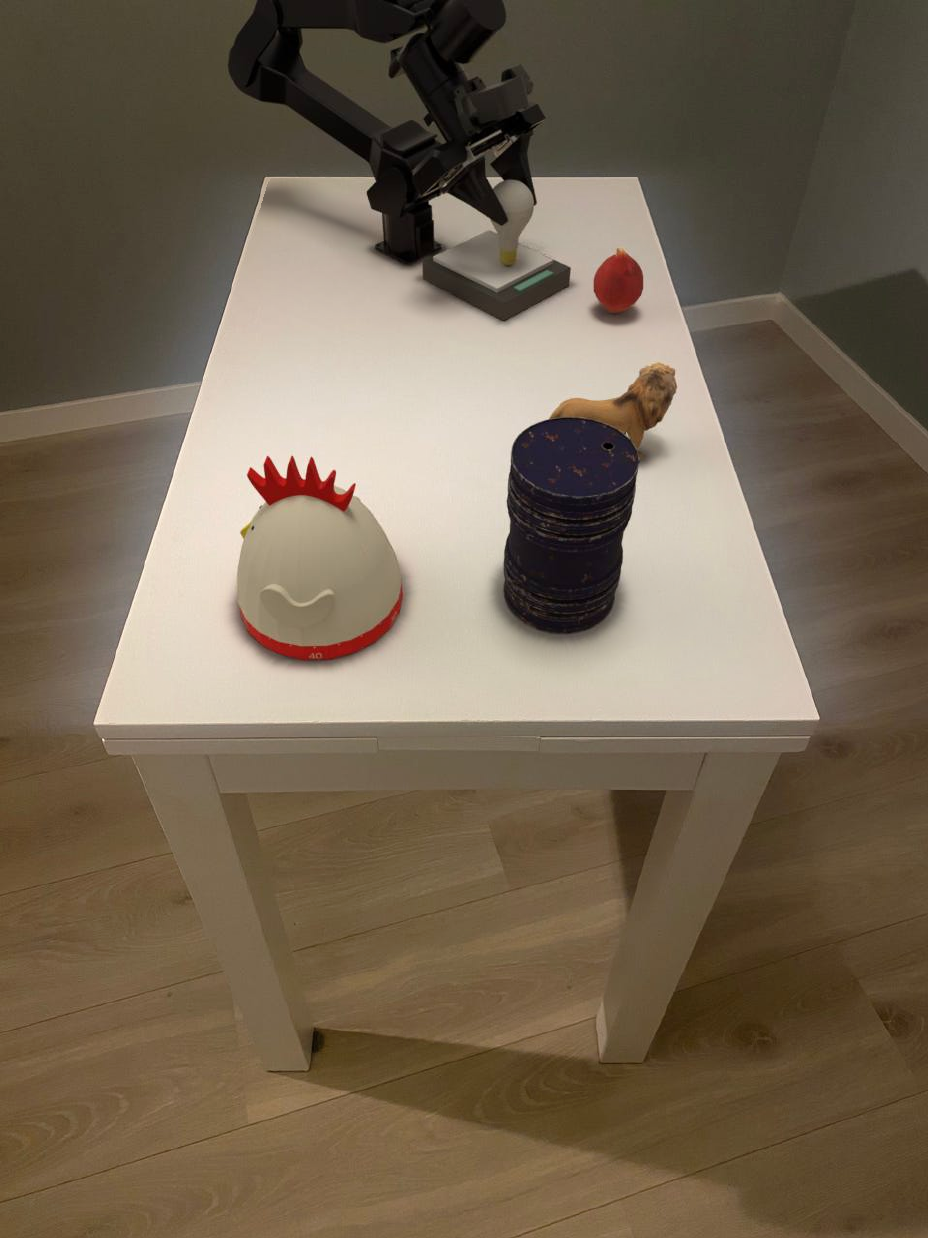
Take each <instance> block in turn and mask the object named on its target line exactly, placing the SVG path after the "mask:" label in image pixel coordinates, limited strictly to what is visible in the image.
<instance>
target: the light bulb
mask: <svg viewBox="0 0 928 1238" xmlns="http://www.w3.org/2000/svg"><path fill="white" fill-rule="evenodd" d="M492 189H493V190H494V192H495V194H496V196H497V198H498V200H499V202H500V203H501V205H502V207H503V209H504V212H505V214H506V216H507V219H508V222H507V223H506V224H504V225H503V226H500V225H499V224H497V223H496V222H494V221H493V220H491V219H490V218H489V220H490V222H491V224H492V226H493V228H494V229H495V231H496V233H497V234H498V235H499V248H500V262H501V263H502V264H504V265H506V266H509V265H512V264H514V263H515V262H516V255H517V248H518V243H519V239H520V236H521V235H522V233H523V231H524V230H525V229H526V226H527V225H528V224H529V222H530V221H531V219H532V217H533V214H534V208H535V206H534V200H533V196H532V194H531V191H530V190H529V188H528V187H527V186H526V185H525V184H523V183H522V182H520V181H517V180H502V181H500V182H498V183H497V184H495V186H493V187H492Z"/></svg>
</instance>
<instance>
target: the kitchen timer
mask: <svg viewBox="0 0 928 1238" xmlns="http://www.w3.org/2000/svg"><path fill="white" fill-rule="evenodd" d="M263 473H264V476H262V475H261V474H259V473H258V472H257V471H256V470H255V469H254V468H253V467H251V466H250V467H249V469H248V471H247V474H246V477H247V479H248V482H250V484H251V485H252V486H253V488H254V489H255V490H256V492H257V493H258V494H259V495H260V496H261V498H262V499H263V500H264V503H263V504H262V505H260V506H259V507H258V510H257V511H256V512H255V514H254V516H253V517H252V519H251V521H250V522H249V523H247V524H246V525H245V526H244V527H243V528H242V529H241V530H240V532H239V533H240V535H241V537H242V539H243V540H242V544H241V548H240V553H239V558H238V565H237V572H236V584H237V585H236V587H237V589H236V591H237V604H238V608H239V612H240V616H241V619H242V620H243V622H244V625H245V627H246V629H247V631H248V633H249V634H250V635H251V636H252V637H253V638H254V639H255V640H256V641H257V642H258V643H259V644H260V645H262V647H264V648H267V649H269V650H270V651H273V652H274V653H277V654H279V655H281V656H284V657H289V658H294V659H299V660H304V661H306V660H309V661H311V660H331V659H335V658H339V657H343V656H346V655H351V654H354V653H356V652H358V651H360V650H362V649H364V648H366V647H368V646H370V645H372V644H374V643H375V642H376V641H377V640H378V639H380V638H381V637H382V636H383V635H384V634H385V633H386V632H387V631H389V630H390V629H391V627H392V626H393V624H394V622H395V621H396V619H397V617H398V616H399V614H400V612H401V608H402V602H403V595H404V593H403V581H402V575H401V571H400V570H401V569H400V565H399V561H398V557H397V554H396V552H395V549H394V548H393V546H392V544H391V542H390V540H389V538H388V536H387V534H386V532H385V531H384V529H383V527H382V525H381V524H380V523H379V521H378V519H377V518H376V517H375V515H374V513H372V511H371V509H369V508H368V507H367V505H365V504H364V503H363V502H362V501H361V498H359V496H357V495H354V493H355V490H356V485H357V484H356V482H354V483H352V484H351V486H350V487H349V488H348V489H347V490H345V489H344V488H342V487H339V486H336V485H335V482H336V476H337V471H336V469H333V470H331V471H330V473H329V474H328V476H327V478H326V479H325V480H322V479H321V477H320V474H319V470H318V468H317V465H316V462H315V459H314V457H313V456H310V458H309V460H308V464H307V467H306V472H305V478H303V477H302V476H301V473H300V472H299V469H298V466H297V463H296V460H295V457H294V455H291V456H290V458H289V461H288V464H287V468H286V475H285V477H283V476H282V475H281V474H280V472H279V471H278V469H277V467H276V465H275V464H274V461H273V460H272V459H271V457H270V455H266V458H265V459H264V462H263Z"/></svg>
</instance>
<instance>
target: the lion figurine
mask: <svg viewBox="0 0 928 1238" xmlns="http://www.w3.org/2000/svg"><path fill="white" fill-rule="evenodd" d="M638 374H639V375H638V376H637V377H636V379H635V381H633V383H631V384H630V385H629V386H628V388H627V390H626V392H624V393H623V394H622V395H620V396H617V397H614V398H608V399H602V400H601V399H599V400H594V399H587V398H583V397H571V398H567V399H566V400H564V401H562V402H561V403H560V404H559V405H558V406H557V407H556V408H555V410H554V411H552V413H551V415H550V416H549V418H548V419H553V418H560V417H579V418H587V419H592V420H596V421H600V422H603V423H605V424H608V425H610V426H612V427H614V428H616V429H618V430H619V431H621V432H622V433H624V434H625V435H626V436H627V437H628V438H629V439H630V440H631V441H632V442H633V444H634V445H635V447H636V449H637V451H638V454H639V462H641V460H643V453H642V452H641V451H639V449H640V447H641V444H642V442H643V439H644V435H645V431H647V432H648V431H649V430H650V429H653V428H655V427H656V426H657V425H658V423H661V422H663V420H664V417H665V415H666V413H667V412H668V410H669V408H670V406H671V405H672V401H673V400H674V396H675V394H676V393H677V389H678V384H677V381H676V378H675V376H676V369H675V368H673V367H671V366H670V365H668V364H664V363H661V362H654V363H652V364H651V365H645V366H644V367H641V368H639V371H638Z"/></svg>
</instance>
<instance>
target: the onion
mask: <svg viewBox="0 0 928 1238" xmlns="http://www.w3.org/2000/svg"><path fill="white" fill-rule="evenodd" d="M643 291H644V273H643V270H642V268H641V266H640V264H639V263H638V262H637V260H635V259H634V257H632V256H631V255H629V253H628V252H626V250H625V248H623V247H617V248H616V252H615V254H613V255H611V256H609V257H607V258H606V259H605V260H603V262H602V263H601V264H600V265H599V267H598V268H597V269H596V272H595V273H594V277H593V293H594V296H595V297H596V299H597V300H598V302H599V303H600V304H601V305H602V306H603V307H605V309H607V311H608V312H610V313H611V314H617V313H618V314H619V313H620V312H623V311H625V310H628V309H629V308H631V307H632V306H633V305H635V304H636V303H637V301H638V300H639V299H640V298H641V297H642V294H643Z"/></svg>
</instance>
